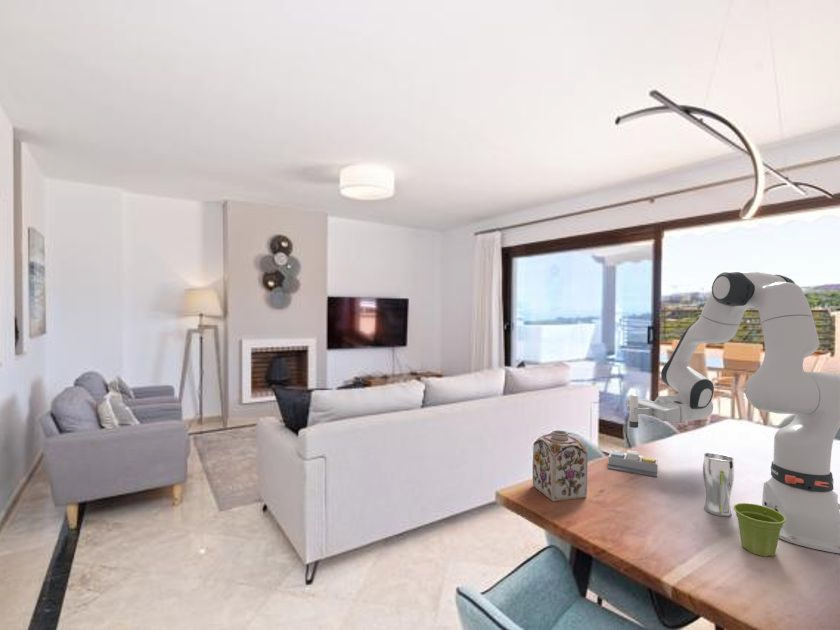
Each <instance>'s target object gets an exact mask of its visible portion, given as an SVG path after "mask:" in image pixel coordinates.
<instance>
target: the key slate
mask: <svg viewBox="0 0 840 630" xmlns="http://www.w3.org/2000/svg"><path fill="white" fill-rule="evenodd" d="M611 452H612V457H617V458H623V459H624V453H625V452H622V451H615V450H612V451H611Z"/></svg>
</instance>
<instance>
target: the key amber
mask: <svg viewBox="0 0 840 630" xmlns="http://www.w3.org/2000/svg"><path fill="white" fill-rule="evenodd" d="M642 456H643V460H642V462H648V463H654V464H655V459H656V457H652V456H647V455H642Z"/></svg>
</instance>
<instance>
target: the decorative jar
mask: <svg viewBox="0 0 840 630" xmlns="http://www.w3.org/2000/svg"><path fill="white" fill-rule="evenodd" d="M532 453H533V454H532V486H533V488H535V489H537V490H538V491H539V492H540V493H542V494H543V495H544V496H545V497H547V498H548V499H549V500H550V501H552V502H560V501H561V502H563V501H569V500H576V499H578V500H579V499H585V498H587V496H588V495H587V494H588V464H589V462H588V460H589V459H588V457H589V455H588V450H587V449H586V447H585V446H584V444H583V442H582V441H581V440H580V439H579V438H577V437H574V436H572V435H569V433H568V432H567V431H564V430H558V429H557V430H552V431H551V433H546V434H543V435H541V436H540V437H538V438H537V439H536V440H535V441H534V442H533V448H532Z"/></svg>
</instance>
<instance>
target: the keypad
mask: <svg viewBox="0 0 840 630" xmlns="http://www.w3.org/2000/svg"><path fill="white" fill-rule="evenodd" d="M612 452H613V451H611V452H610V451H609V455H608V464H607V469H608V470H613V471H618V472H625V473H629V474H635V475H640V476H641V475H643V476H646V477H653V478H658V468H659V467H658V465H659V464H658V463H659V462H658V460H659V459H656V458H655V464H654V463H648V462H642V460H643V456H644V455H641V454H639V461H636V460H630V459H627V452H623V453H624V459H623V458H617V457H612Z"/></svg>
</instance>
